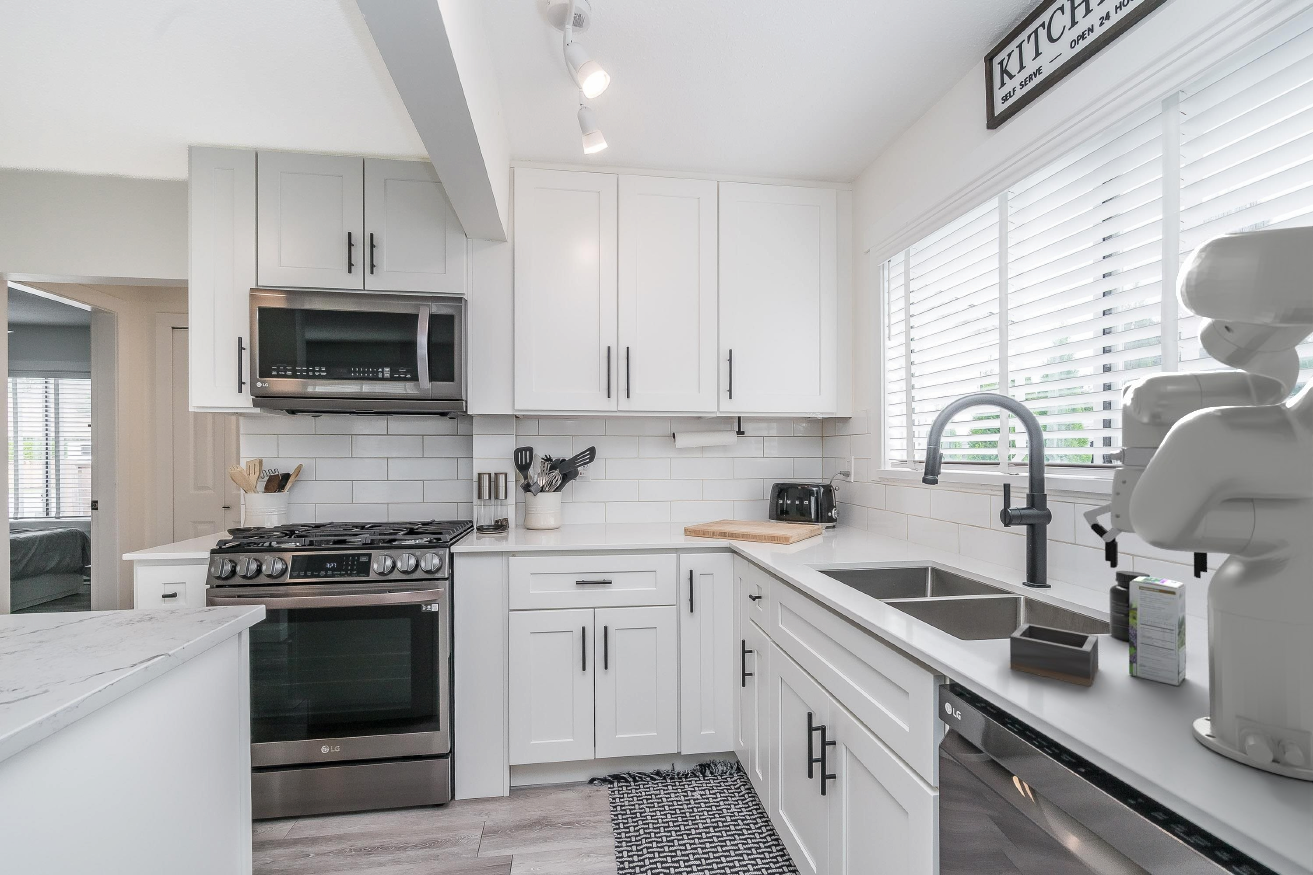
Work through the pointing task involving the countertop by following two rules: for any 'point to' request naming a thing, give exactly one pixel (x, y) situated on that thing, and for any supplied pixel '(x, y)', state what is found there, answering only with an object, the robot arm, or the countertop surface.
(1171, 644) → the syrup box
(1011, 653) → the socket block
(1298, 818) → the countertop surface
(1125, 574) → the supplement bottle
